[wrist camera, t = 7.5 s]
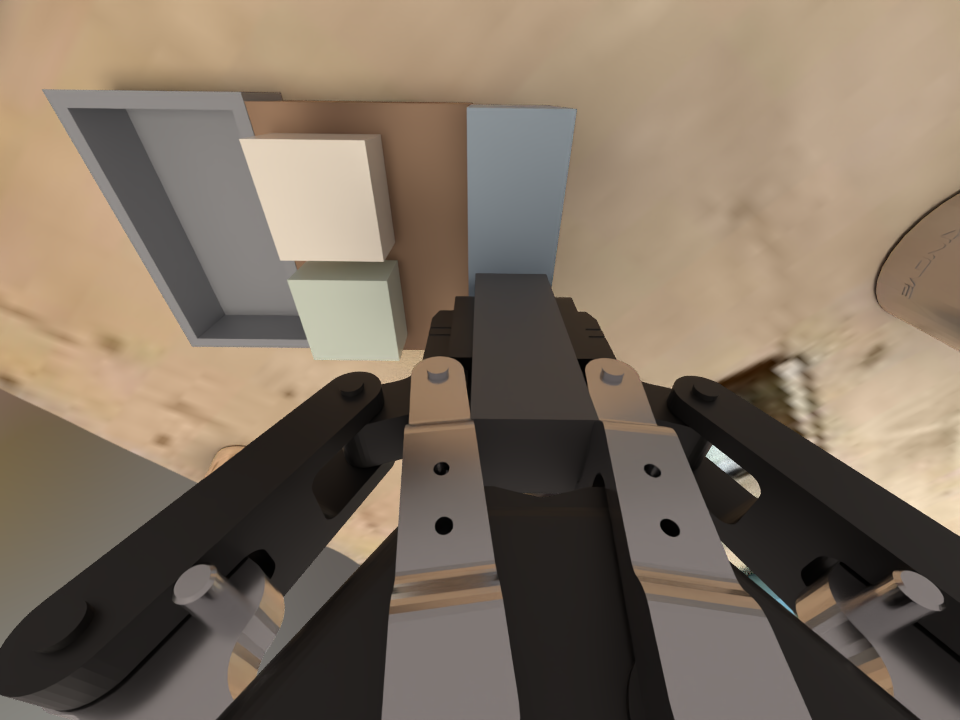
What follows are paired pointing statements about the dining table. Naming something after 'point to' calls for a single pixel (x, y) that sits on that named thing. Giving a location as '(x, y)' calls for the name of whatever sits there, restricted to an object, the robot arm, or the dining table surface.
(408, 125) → the brown wooden block
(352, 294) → the tile
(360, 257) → the tile
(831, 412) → the dining table surface
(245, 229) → the box
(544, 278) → the scraper
